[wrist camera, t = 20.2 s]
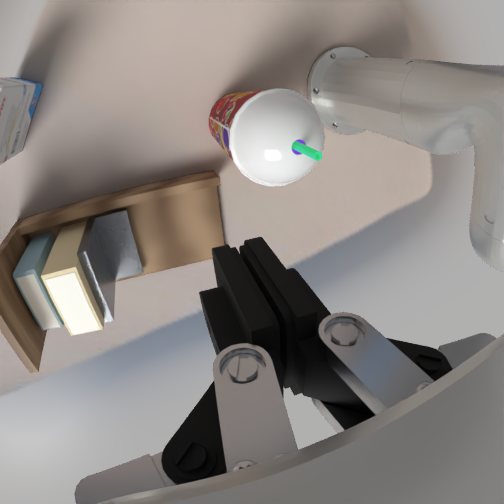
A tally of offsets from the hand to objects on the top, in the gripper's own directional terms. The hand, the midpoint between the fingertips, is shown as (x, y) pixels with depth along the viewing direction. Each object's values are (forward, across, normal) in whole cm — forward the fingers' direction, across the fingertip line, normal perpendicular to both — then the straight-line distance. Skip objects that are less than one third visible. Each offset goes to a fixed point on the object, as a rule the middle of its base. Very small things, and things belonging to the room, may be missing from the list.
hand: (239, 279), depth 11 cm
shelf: (+29, +8, +11) cm, 32 cm away
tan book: (+28, +14, +11) cm, 34 cm away
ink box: (+29, +18, -8) cm, 35 cm away
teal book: (+28, +18, +12) cm, 36 cm away
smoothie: (+29, -8, -1) cm, 30 cm away
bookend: (+28, +9, +11) cm, 32 cm away
